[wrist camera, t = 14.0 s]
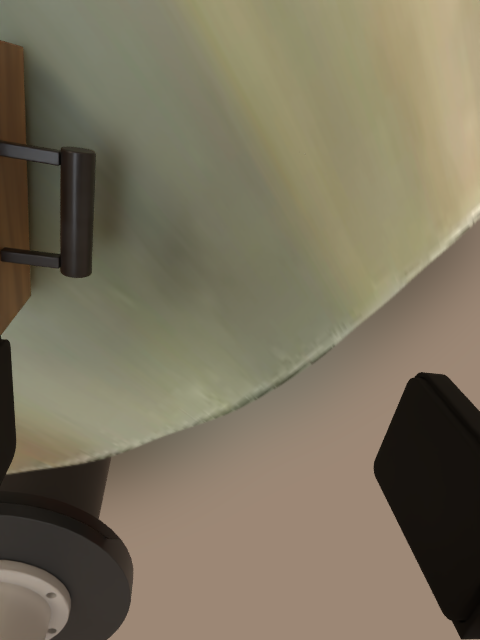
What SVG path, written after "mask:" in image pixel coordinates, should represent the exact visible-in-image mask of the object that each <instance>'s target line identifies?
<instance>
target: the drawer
mask: <svg viewBox="0 0 480 640" xmlns="http://www.w3.org/2000/svg"><path fill="white" fill-rule="evenodd" d="M27 161H33V162H40V163H46V164H52V165H58V166H59V165H61V179H60V254H54V253H46V252H39V251H31V250H30V247H29V216H28V184H27ZM95 162H96V153H95V152H94V151H92V150H89V149H84V148H78V147H61V150H55V149H50V148H44V147H38V146H32V145H26V121H25V89H24V57H23V47H22V46H19V45H15V44H12V43H8V42H5V41H1V40H0V336H1V335H2V333H3V332H4V331H5V329H6V328H7V327H8V325H9V324H10V323H11V321H12V320H13V319H14V317H15V316H16V315H17V313H18V312H19V311H20V310H21V308H22V307H23V306H24V304H25V303H26V302H27V300H28V299H29V298H30V296H31V279H30V265H34V266H42V267H50V268H60V271H61V273H62V274H63V275H65V276H68V277H72V278H84V277H88V276H90V275H91V273H92V250H93V221H94V191H95Z"/></svg>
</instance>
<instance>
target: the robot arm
mask: <svg viewBox="0 0 480 640" xmlns="http://www.w3.org/2000/svg"><path fill="white" fill-rule="evenodd" d="M15 449H16V429H15V413H14V396H13V380H12V363H11V347H10V342H9V341H8V340H4V339H1V336H0V485H1V483H2V481H3V479H4V477H5V475H6V472H7V470H8V468H9V466H10V464H11V462H12V460H13V457H14V454H15ZM374 474H375V477H376V479H377V481H378V483H379V485H380V487H381V489H382V491H383V493H384V495H385V497H386V499H387V501H388V503H389V505H390V507H391V509H392V511H393V513H394V515H395V517H396V519H397V522H398V524H399V526H400V527H401V530H402V532H403V534H404V536H405V538H406V540H407V542H408V544H409V546H410V548H411V550H412V552H413V554H414V556H415V558H416V560H417V562H418V564H419V566H420V568H421V570H422V572H423V574H424V576H425V578H426V580H427V582H428V584H429V586H430V588H431V590H432V592H433V594H434V596H435V598H436V600H437V602H438V604H439V606H440V608H441V610H442V612H443V614H444V615H445V616H446V617H447V618H448V619H449V620H452V622H453V624H454V626H455V628H456V630H457V632H458V634H459V636H460V638H461V639H480V411H479V410H478V409H477V408H476V407H475V406H474V405H473V404H472V403H471V402H470V400H469V399H468V398H467V397H466V396H465V395H464V394H463V393H462V392H461V391H460V390H459V389H458V387H457V386H456V385H455V384H454V383H453V382H452V381H451V380H450V379H449V378H448V377H447V376H446V375H442V374H433V373H423V372H421V373H418V374H417V375H416V376H415V378H411V379H410V380H409V381H408V383H407V385H406V388H405V390H404V392H403V395H402V397H401V399H400V402H399V404H398V407H397V409H396V411H395V414H394V416H393V418H392V421H391V423H390V425H389V428H388V430H387V433H386V435H385V437H384V440H383V442H382V445H381V447H380V449H379V452H378V454H377V457H376V459H375V462H374ZM70 609H71V598H70V595H69V592H68V590H67V589H66V587H65V586H64V584H63V583H62V582H60V581H59V580H58V579H57V578H56V577H55V576H53V575H52V574H50V573H48V572H47V571H45V570H43V569H40V568H38V567H36V566H33V565H29V564H26V563H22V562H17V561H11V560H0V640H50V639H51V638H53V637H54V636H55V635H57V634H58V633H59V632H60V631H61V630H62V629H63V628H64V626H65V625H66V623H67V621H68V618H69V613H70Z"/></svg>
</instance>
